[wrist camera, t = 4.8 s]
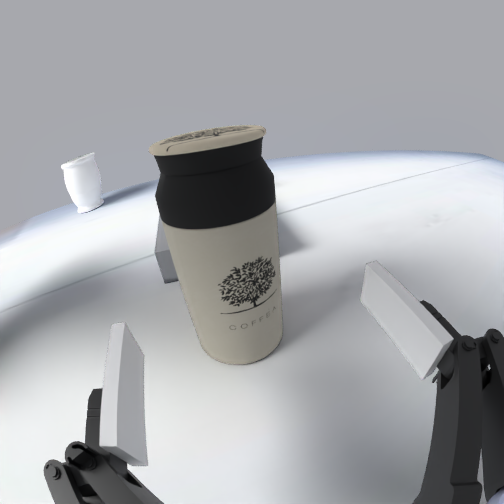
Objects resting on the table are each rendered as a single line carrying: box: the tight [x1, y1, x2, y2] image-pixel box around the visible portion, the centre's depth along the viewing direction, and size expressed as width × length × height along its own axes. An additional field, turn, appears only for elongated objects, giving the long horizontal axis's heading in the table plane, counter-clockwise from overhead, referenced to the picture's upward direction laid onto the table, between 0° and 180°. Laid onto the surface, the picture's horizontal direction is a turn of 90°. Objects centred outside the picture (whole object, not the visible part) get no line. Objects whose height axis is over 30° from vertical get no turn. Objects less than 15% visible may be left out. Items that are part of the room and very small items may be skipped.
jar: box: [61, 153, 104, 213], centre depth 63 cm, size 11×10×15 cm
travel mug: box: [149, 125, 283, 365], centre depth 21 cm, size 8×8×18 cm
